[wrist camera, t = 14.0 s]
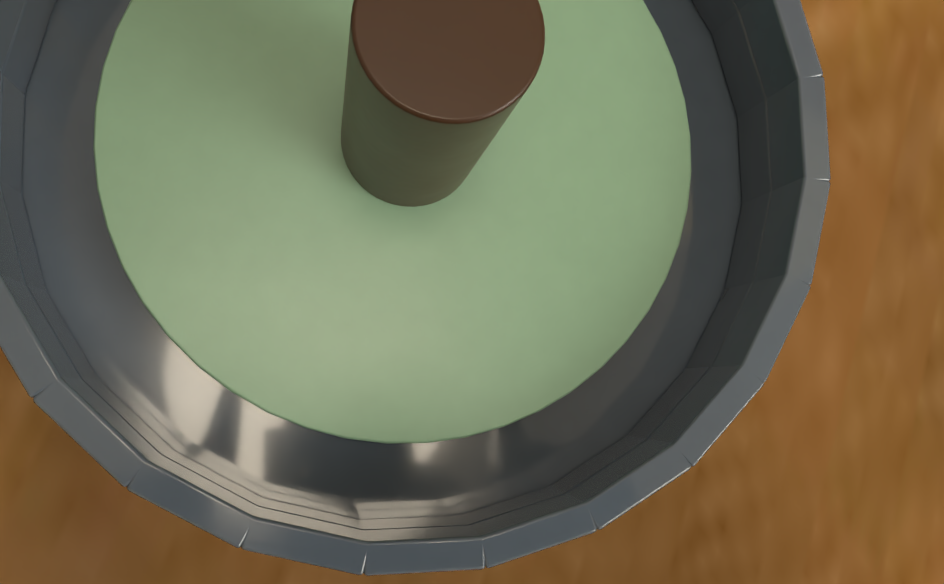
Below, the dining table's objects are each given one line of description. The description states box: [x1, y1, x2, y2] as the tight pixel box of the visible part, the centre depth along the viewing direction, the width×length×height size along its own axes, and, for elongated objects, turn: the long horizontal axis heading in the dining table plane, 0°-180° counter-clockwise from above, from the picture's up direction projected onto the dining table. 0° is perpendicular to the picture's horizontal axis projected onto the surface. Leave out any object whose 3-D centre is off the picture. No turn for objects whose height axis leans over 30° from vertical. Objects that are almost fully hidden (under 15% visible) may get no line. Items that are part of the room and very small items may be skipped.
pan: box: [0, 0, 830, 576], centre depth 19 cm, size 17×17×4 cm
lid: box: [93, 0, 691, 444], centre depth 16 cm, size 12×12×7 cm
